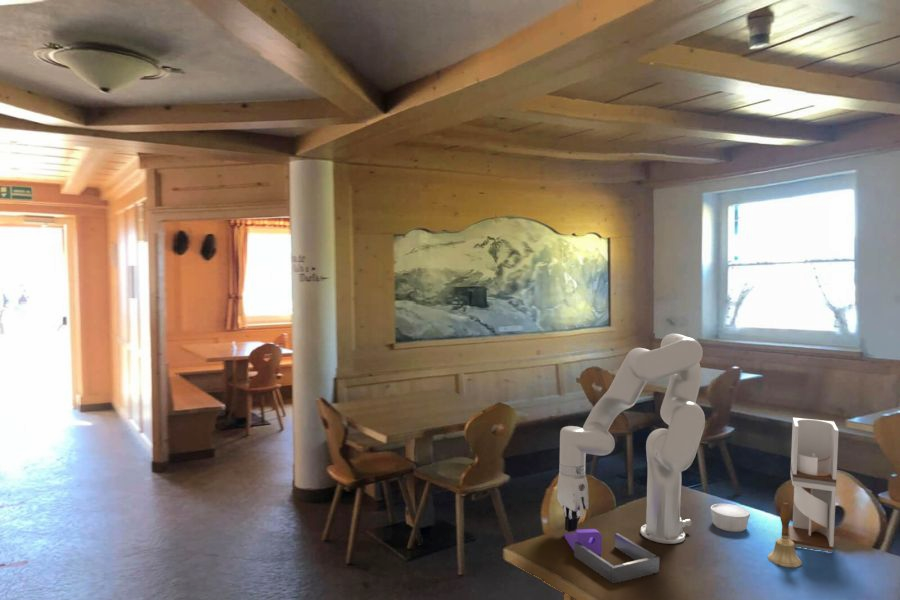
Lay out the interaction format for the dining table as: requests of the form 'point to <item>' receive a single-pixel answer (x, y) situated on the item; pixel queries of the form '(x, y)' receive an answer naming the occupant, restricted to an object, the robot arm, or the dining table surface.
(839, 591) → the dining table surface
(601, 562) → the tray
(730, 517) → the ramekin
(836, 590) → the dining table surface
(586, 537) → the bracket
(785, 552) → the hand bell
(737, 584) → the dining table surface
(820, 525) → the display case
